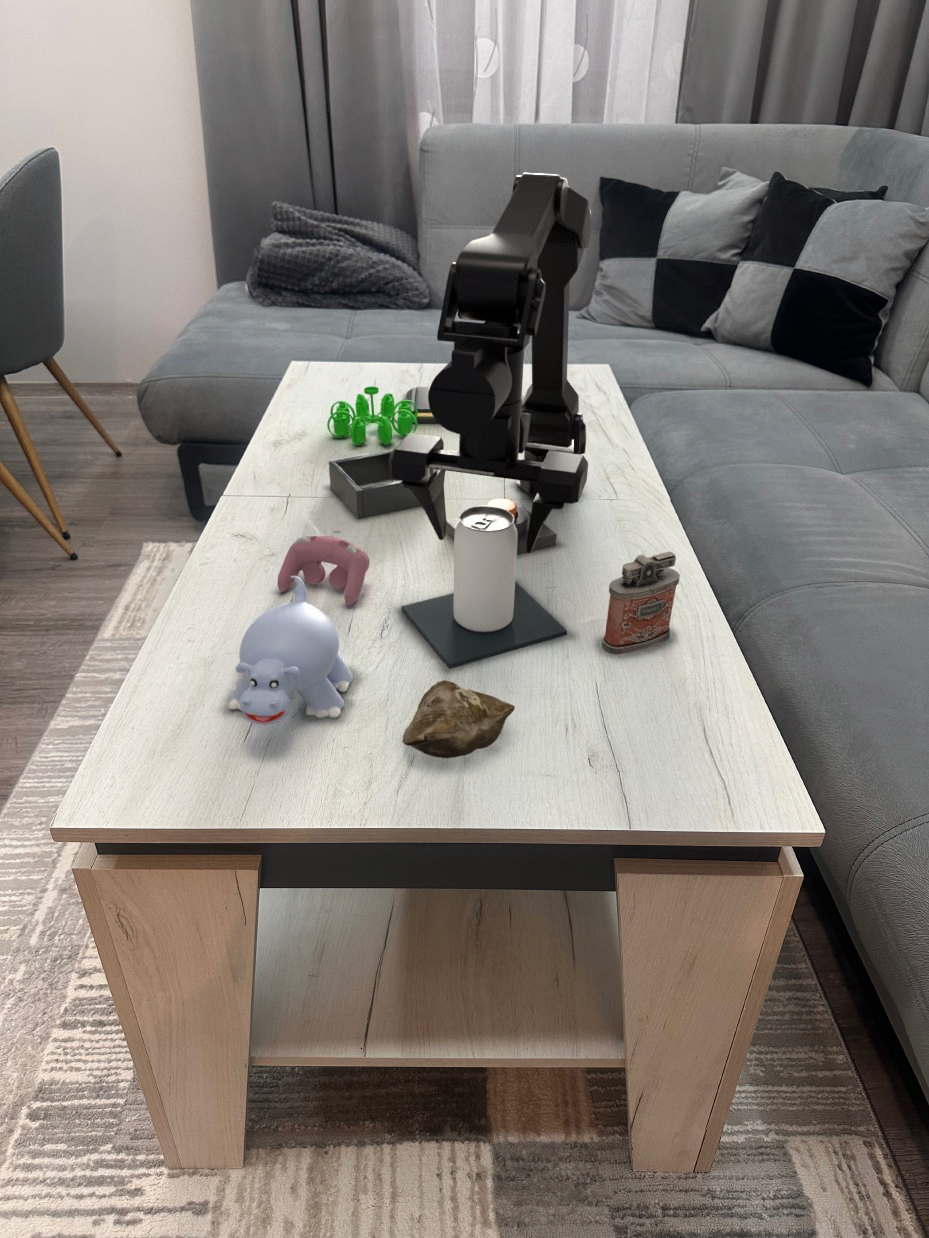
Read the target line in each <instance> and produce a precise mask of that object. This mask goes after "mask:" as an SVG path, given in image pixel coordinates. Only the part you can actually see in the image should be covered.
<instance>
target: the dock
mask: <svg viewBox="0 0 929 1238" xmlns="http://www.w3.org/2000/svg"><path fill="white" fill-rule="evenodd" d="M393 450H394V449H392V450H387V451H381V452H374V453H371V454H364V455H358V456H352V457H347V458H341V459H336V460H329V461H328V472H329V473H328V474H329V486H330V489H331V490H332V492H333V493H334V494H335V495H336V497H338V498H339V499H340V501H341V502H342V504H344V505H345V506H346V508H348V509H349V511H350V512H351V513H352V514H353V515H354V517H355V518H356V519H357V520H361V519H366V518H369V517H375V516H380V515H385V514H389V513H394V512H400V511H404V510H409V509H413V508H419V507H422V506H421V505H420V503H419V502H418V500H417V499H416V497H415V496H414V494H413V493H412V491H411V490H410V489H406V488H403V487H402V480H396V481H390V482H386V483H381V484H375V485H371V486H364V485H367V484H372V483H378V482H383V481H389V480H393V479H392V478H390V477H389V457H390V453H391V452H392V451H393ZM362 485H363V486H364V487H359V486H362Z"/></svg>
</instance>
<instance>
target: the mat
mask: <svg viewBox="0 0 929 1238" xmlns="http://www.w3.org/2000/svg"><path fill="white" fill-rule="evenodd" d="M453 596H454V592H452V593H449V594H445V595H441V596H437V597H433V598H429V599H425V600H420V601H417V602H413V603H408V604H406V605H402V606H401V612H402V613H403V614H404V616H405V617H406V618H407V619H408V621H410V622H411V624H412V626H413V627H414V628H415V629H416V630H417V632H418V633H419V634H420V636H421V637H423V639H424V640H425V641H426V642H427V644H428V645H429V646H430V647H431V648H432V650H433V651H434V652H435V654H437V656H438V657H439V659H441V661H442V662H443V663H444V664H445V665H446V667H447V668H448V669H449V670H451V669H454V668H458V667H462V666H464V665H468V664H472V663H475V662H479V661H482V660H485V659H488V658H492V657H496V656H499V655H502V654H503V655H504V654H506V653H510V652H513V651H517V650H520V649H524V648H527V647H531V646H534V645H538V644H541V643H544V642H548V641H552V640H555V639H558V638H561V637H562V638H563V637H565V636H567V635H568V630H567V629H566V628H565V627H564V626H563V625H562V624H561V623H560V622H559V621H558V620H557V619H556V618H555V617H554V616H553V615H551V613H550V612H549V611H547V610H546V609H545V608H544V607H543V606H542V605H541V604H540V603H539V602H538V601H536V600H535V598H533V597H532V596H531V595H530V594H529V593H528V591H526V590H525V589H524V588H523V587H522V586H521V585H520V584H519V583H517V582H516V581H515V594H514V610H513V618H512V621H511V622H510V623H509V624H508V625H507V626H506V627H504V628H503V629H501V630H498V631H495V632H489V633H480V632H473V631H470V630H467V629H465V628H463V627H462V626H461V625H460V624H459V623H458V622H457V621H456V620H455V618H454V611H453Z"/></svg>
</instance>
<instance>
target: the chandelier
mask: <svg viewBox="0 0 929 1238" xmlns="http://www.w3.org/2000/svg"><path fill="white" fill-rule="evenodd" d="M363 393H364V394H365V395H369V396H370V403H369V402H368V399H367V398H366V397H365V395H364V394H363ZM363 393H357V395H356V400H355V404H354V406H355V410H354V408H353V406H352V405H351V404H350V403H349V402H346V401H345V400H338V401H336V402H334V403H333V404H332V405H331V407H330V416H329V417H328V419H327V424H326V426H327V430H328V433H330V434H331V435H332V436H333V437H335V438H339V439H340V438H341V439H342V438H346V437H348V436H349V435H350V440H351V443H352V444H353V445H354V446H361V445H362V444H363V443H364V442H365V441H366V439H367V433H366V431H367V426H368V425H369V424H377V425H378V426H377V438H378V441H379V442H381V443H383V444H384V445H385V446H387V445H390V444H391V443H392V440H393V430H394V432H396V434H398V435H399V436H401V437H406V436H407V435H408V434H409V433H411V434H415V433H416V431H417V429H418V424H417V420H416V418H417V415H418V409H417V406H416V405H415V404H414V403H413V402H412V401H410V400H406V399H402V400H399V401H398V402H397V403H396V404H395V398H394V396H393V393H389V392H386V393H385V394H384V395H383V396H382V398H381V399H380V401H381V402H380V411H378V413H377V414H375V406H374V395H377V394H379V387H377V386H366V387H365V388H364V389H363ZM407 402H411V403H412V404H413V405H414V406H415V409H416V413H415V416H414V415H413V414H412V410H411V408H410V405H409V404H407ZM337 404H338V405H337ZM336 405H337V406H336ZM335 406H336V410H335V411H334V407H335ZM370 406H371V407H370ZM397 408H398V409H397ZM370 409H371V414H370ZM396 409H397V410H396ZM350 411H351V413H350ZM380 415H381V416H380ZM396 415H397V419H396V417H395V416H396ZM412 418H413V420H412ZM331 420H332V421H333V430H334V433H333V432H332V431H331V429H330V424H331ZM413 422H415V423H413ZM395 423H396V425H397V427H396V425H395ZM413 424H414V429H413V431H412V425H413ZM349 427H350V428H349Z"/></svg>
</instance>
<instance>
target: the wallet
mask: <svg viewBox="0 0 929 1238" xmlns="http://www.w3.org/2000/svg"><path fill="white" fill-rule="evenodd" d="M429 389H430V386H416V387H412V388H410V389H408V391H406V396H405V400H410V401H412V402H413V403H414V404H415V405H416V406H417V409H418V415H417V418H416V420H417V425H419V424H437V425H438V424H439V423H438V422H437V421H436V419H435V418H434V416H433V415H432V412H431V410H430V407H429V402H428V392H429ZM407 404H409V405H410V408H411V410H412V414H413V415H414V416H415V413H416V409H415V406H414V405H413V404H412V403H411V402H407ZM412 420H413V418H412ZM412 424H415V422H413V423H412ZM439 425H440V424H439Z"/></svg>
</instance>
